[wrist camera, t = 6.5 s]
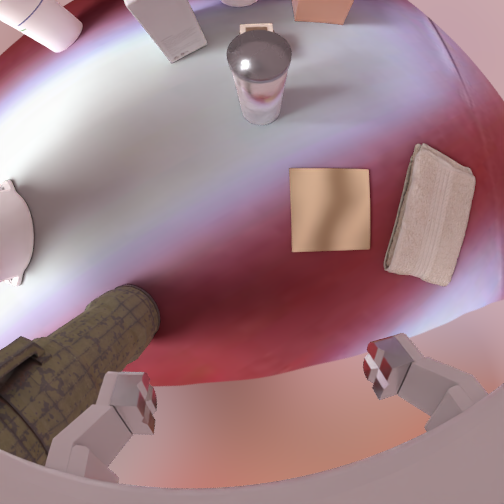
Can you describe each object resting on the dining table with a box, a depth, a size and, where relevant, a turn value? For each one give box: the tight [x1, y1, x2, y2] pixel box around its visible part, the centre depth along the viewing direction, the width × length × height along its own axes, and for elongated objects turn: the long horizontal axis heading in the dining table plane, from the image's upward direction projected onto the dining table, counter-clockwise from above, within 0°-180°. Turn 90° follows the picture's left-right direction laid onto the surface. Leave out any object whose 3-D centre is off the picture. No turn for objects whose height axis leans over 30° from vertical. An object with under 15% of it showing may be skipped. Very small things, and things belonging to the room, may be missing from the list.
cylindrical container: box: [0, 0, 83, 53], centre depth 17 cm, size 7×7×25 cm
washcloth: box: [384, 143, 476, 286], centre depth 32 cm, size 12×18×3 cm, turn 166°
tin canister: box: [227, 30, 291, 125], centre depth 25 cm, size 5×5×14 cm
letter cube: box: [240, 23, 274, 34], centre depth 28 cm, size 4×4×4 cm
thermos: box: [0, 285, 160, 466], centre depth 19 cm, size 9×12×35 cm
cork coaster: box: [289, 168, 370, 252], centre depth 33 cm, size 10×10×1 cm
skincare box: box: [124, 0, 208, 63], centre depth 22 cm, size 8×6×15 cm
